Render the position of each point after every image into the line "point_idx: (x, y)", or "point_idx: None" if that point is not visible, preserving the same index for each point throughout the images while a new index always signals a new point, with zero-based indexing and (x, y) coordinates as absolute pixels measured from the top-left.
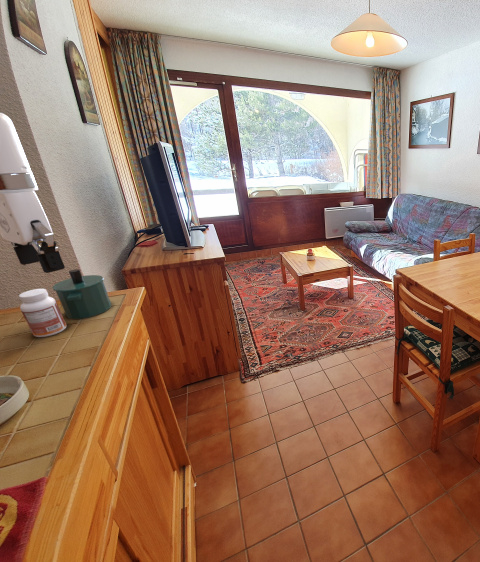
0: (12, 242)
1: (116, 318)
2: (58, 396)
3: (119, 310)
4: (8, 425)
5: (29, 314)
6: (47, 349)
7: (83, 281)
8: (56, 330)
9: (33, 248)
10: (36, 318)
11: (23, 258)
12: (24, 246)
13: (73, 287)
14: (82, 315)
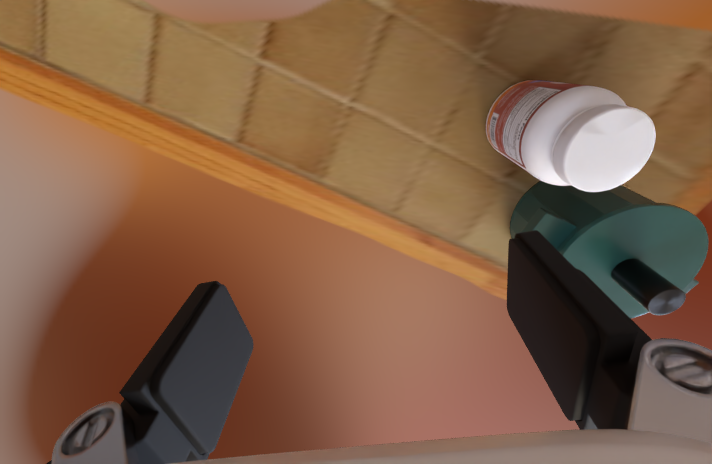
0: (697, 386)
1: (442, 243)
2: (140, 59)
3: (484, 260)
4: None
5: (540, 100)
6: (410, 89)
7: (615, 281)
8: (488, 130)
9: (552, 384)
10: (521, 110)
11: (527, 274)
12: (578, 381)
13: (590, 249)
14: (526, 198)
